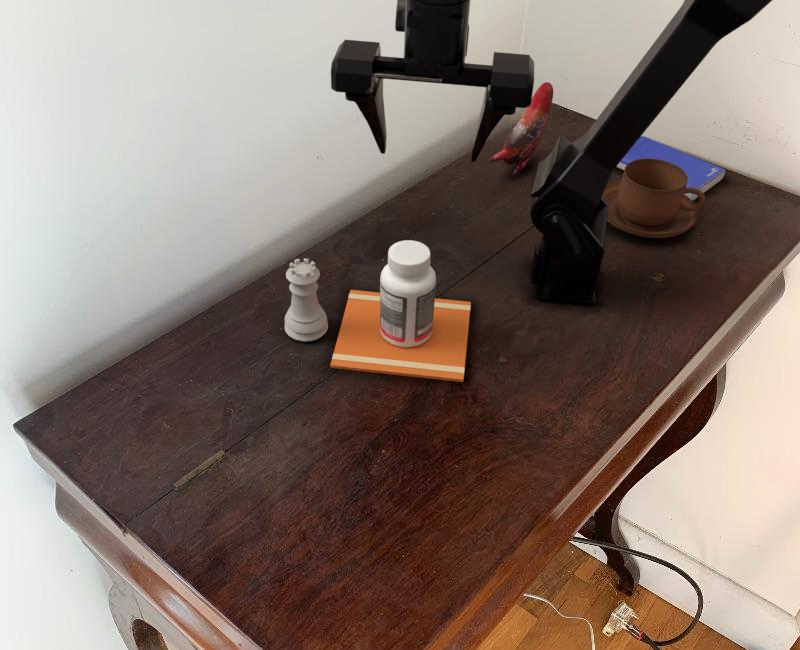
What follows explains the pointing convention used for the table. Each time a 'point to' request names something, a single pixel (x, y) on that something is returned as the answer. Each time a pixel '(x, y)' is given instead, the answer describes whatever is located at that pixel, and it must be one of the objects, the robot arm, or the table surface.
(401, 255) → the pill bottle
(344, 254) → the table surface
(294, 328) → the rook chess piece
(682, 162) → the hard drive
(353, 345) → the towel
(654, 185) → the cup and saucer
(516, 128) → the decorative bird figurine
